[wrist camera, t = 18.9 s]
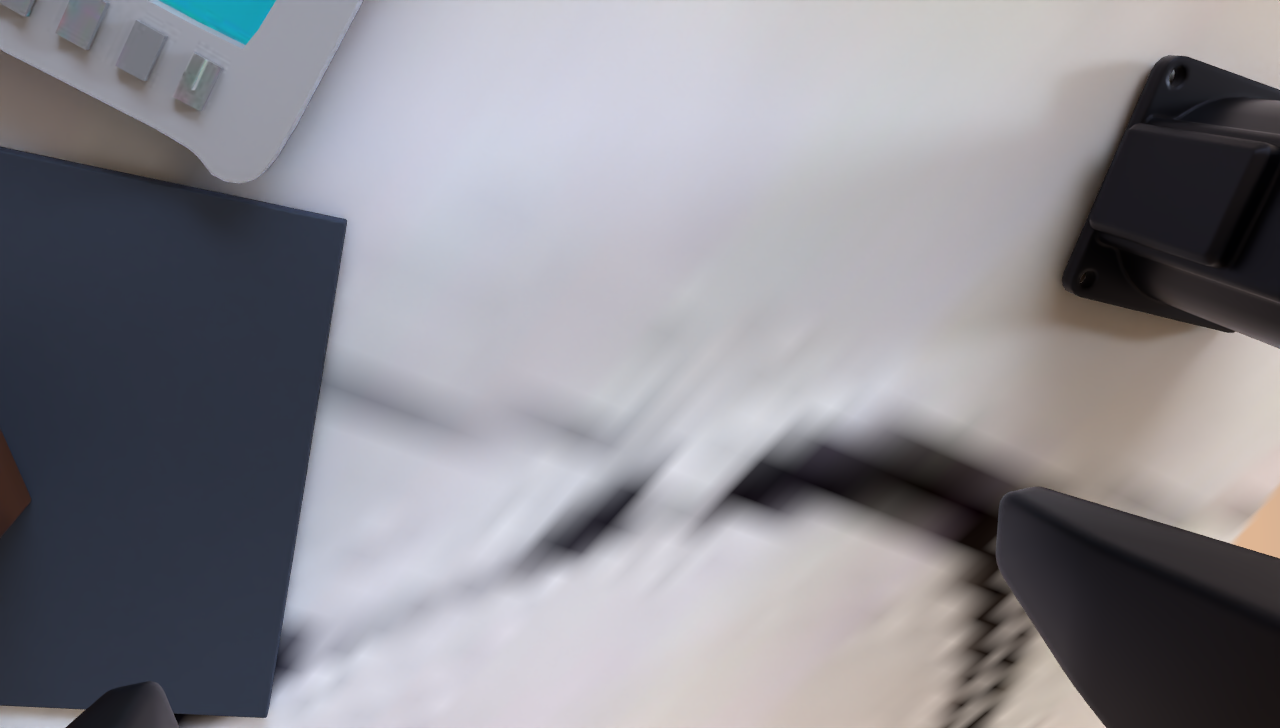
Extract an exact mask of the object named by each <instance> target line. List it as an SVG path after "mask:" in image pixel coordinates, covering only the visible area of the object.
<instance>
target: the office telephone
mask: <svg viewBox="0 0 1280 728" xmlns="http://www.w3.org/2000/svg"><path fill="white" fill-rule="evenodd" d="M362 2H363V0H0V50H2V51H4V52H6V53H8V54H10V55H12V56H14V57H15V58H17V59H19V60H21V61H23V62H25V63H27V64H29V65H31V66H33V67H35V68H37V69H39V70H41V71H43V72H45V73H47V74H49V75H51V76H53V77H55V78H57V79H59V80H60V81H62V82H64V83H66V84H68V85H70V86H72V87H74V88H76V89H78V90H80V91H82V92H84V93H86V94H88V95H90V96H92V97H94V98H96V99H98V100H100V101H102V102H103V103H105V104H107V105H109V106H111V107H113V108H115V109H117V110H119V111H121V112H123V113H125V114H127V115H129V116H131V117H133V118H135V119H137V120H139V121H141V122H143V123H145V124H147V125H148V126H150V127H152V128H154V129H156V130H158V131H160V132H161V133H163V134H165V135H166V136H168V137H170V138H171V139H173V140H175V141H176V142H178V143H180V144H181V145H183V146H185V147H186V148H188V149H189V150H191V151H192V152H193V153H194V154H195V155H196V156H197V157H198V158H199V159H200V160H201V162H202V163H203V164H204V166H205V167H206V168H207V169H208V171H209V172H210V173H211V174H212V175H213V176H215V177H217V178H219V179H221V180H223V181H225V182H231V183H240V184H242V183H245V182H248V181H252V180H255V179H257V178H258V177H259V176H260V175H261V174H263V173H264V172H265V171H266V170H267V169H268V168H269V166H270V165H271V164H272V163H273V162H274V161H275V160H276V159H277V157H278V155H279V154H280V152H281V150H282V149H283V147H284V145H285V144H286V142H287V140H288V139H289V137H290V135H291V134H292V132H293V131H294V129H295V127H296V126H297V124H298V122H299V120H300V118H301V116H302V114H303V113H304V111H305V109H306V107H307V105H308V103H309V101H310V100H311V98H312V96H313V94H314V92H315V90H316V88H317V86H318V85H319V83H320V81H321V79H322V77H323V75H324V73H325V71H326V70H327V68H328V66H329V64H330V62H331V60H332V58H333V57H334V55H335V53H336V51H337V49H338V47H339V45H340V43H341V42H342V40H343V38H344V36H345V34H346V32H347V30H348V28H349V27H350V25H351V23H352V21H353V19H354V17H355V15H356V14H357V12H358V10H359V8H360V6H361V4H362Z"/></svg>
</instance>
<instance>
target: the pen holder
mask: <svg viewBox="0 0 1280 728" xmlns="http://www.w3.org/2000/svg"><path fill="white" fill-rule="evenodd" d="M30 502H31V497H30V494H29V492H28V490H27V488H26V485H25V483H24V481H23V478H22V476H21V474H20V472H19V469H18V467H17V465H16V463H15V460H14V458H13V456H12V454H11V451H10V449H9V447H8V445H7V442H6V440H5V438H4V436H3V433H2V431H1V429H0V538H1V537H2V536H3V534H4V533H5V532H6V531H7V530H8V528H9V527H10V526H11V525H12V524H13V523H14V521H15V520H16V519H17V518H18V517H19V515H20V514H21V513H22V512H23V511H24V509H25V508H26V507H27V506H28V505H29V503H30Z"/></svg>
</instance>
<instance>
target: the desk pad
mask: <svg viewBox="0 0 1280 728" xmlns="http://www.w3.org/2000/svg"><path fill="white" fill-rule="evenodd" d="M346 224H347V220H346V219H342V218H337V217H332V216H328V215H323V214H318V213H313V212H309V211H304V210H299V209H294V208H289V207H285V206H280V205H275V204H270V203H266V202H261V201H256V200H251V199H247V198H242V197H237V196H232V195H227V194H223V193H218V192H213V191H208V190H204V189H199V188H194V187H189V186H185V185H180V184H175V183H170V182H165V181H161V180H156V179H151V178H146V177H142V176H137V175H132V174H127V173H123V172H118V171H113V170H108V169H103V168H99V167H94V166H89V165H84V164H80V163H75V162H70V161H65V160H61V159H56V158H51V157H46V156H41V155H37V154H32V153H27V152H22V151H18V150H13V149H8V148H3V147H0V429H1V431H2V433H3V436H4V438H5V440H6V442H7V445H8V447H9V449H10V451H11V454H12V456H13V458H14V460H15V463H16V465H17V467H18V469H19V472H20V474H21V476H22V478H23V481H24V483H25V485H26V488H27V490H28V492H29V494H30V497H31V502H30V503H29V505H28V506H27V507H26V508H25V509H24V511H23V512H22V513H21V514H20V515H19V517H18V518H17V519H16V520H15V521H14V523H13V524H12V525H11V526H10V527H9V528H8V530H7V531H6V532H5V533H4V534H3V536H2V537H1V538H0V705H3V706H24V707H45V708H67V709H87V708H89V707H90V706H91V705H92V704H93V703H94V702H95V701H97V700H98V699H99V698H100V697H101V696H102V695H104V694H105V693H106V692H107V691H109V690H112V689H115V688H118V687H123V686H127V685H132V684H137V683H141V682H146V681H153V682H156V683H158V684H159V685H160V686H161V687H162V689H163V690H164V692H165V694H166V697H167V699H168V702H169V704H170V707H171V709H172V711H173V714H194V715H215V716H236V717H257V718H266V717H267V714H268V710H269V704H270V698H271V692H272V686H273V679H274V673H275V667H276V661H277V655H278V648H279V642H280V636H281V630H282V623H283V617H284V611H285V605H286V598H287V592H288V586H289V580H290V573H291V567H292V561H293V555H294V549H295V542H296V536H297V530H298V524H299V517H300V511H301V505H302V499H303V492H304V486H305V480H306V474H307V468H308V461H309V455H310V449H311V443H312V436H313V430H314V424H315V418H316V411H317V405H318V399H319V393H320V386H321V380H322V374H323V368H324V362H325V355H326V349H327V343H328V337H329V330H330V324H331V318H332V312H333V305H334V299H335V293H336V287H337V281H338V274H339V268H340V262H341V256H342V249H343V243H344V237H345V231H346Z"/></svg>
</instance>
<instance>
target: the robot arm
mask: <svg viewBox="0 0 1280 728" xmlns="http://www.w3.org/2000/svg"><path fill="white" fill-rule="evenodd" d="M1173 69H1174V71H1175V75H1174V79H1173V80H1172V82H1171V83H1170V81H1169V78H1170V74H1171V72H1172V71H1173ZM1085 272H1086V277H1085V279H1084V280H1083V282H1081V283H1079V282H1080V278H1081V276H1082V275H1083V274H1084V273H1085ZM1062 283H1063V286H1064V288H1065V290H1067V291H1068V292H1070V293H1073V294H1075V295H1077V296H1079V297H1083V298H1087V299H1091V300H1095V301H1099V302H1104V303H1108V304H1112V305H1116V306H1120V307H1124V308H1128V309H1132V310H1137V311H1141V312H1145V313H1149V314H1153V315H1157V316H1161V317H1165V318H1170V319H1174V320H1178V321H1182V322H1186V323H1190V324H1194V325H1199V326H1203V327H1207V328H1211V329H1215V330H1219V331H1223V332H1227V333H1233V332H1239V333H1241V334H1244V335H1246V336H1249V337H1251V338H1254V339H1257V340H1259V341H1262V342H1264V343H1267V344H1269V345H1272V346H1274V347H1277V348H1279V349H1280V90H1278V89H1276V88H1273V87H1270V86H1267V85H1265V84H1262V83H1259V82H1256V81H1253V80H1251V79H1248V78H1245V77H1242V76H1240V75H1237V74H1234V73H1231V72H1228V71H1226V70H1223V69H1220V68H1217V67H1215V66H1212V65H1209V64H1206V63H1204V62H1201V61H1198V60H1195V59H1192V58H1190V57H1186V56H1171V55H1168V56H1166V57H1163V58H1161V59H1160V60H1159V61H1158V62H1157V63H1156V64H1155V65H1154V67H1153V69H1152V70H1151V72H1150V75H1149V77H1148V79H1147V82H1146V84H1145V86H1144V89H1143V91H1142V93H1141V95H1140V98H1139V100H1138V102H1137V105H1136V107H1135V109H1134V112H1133V114H1132V116H1131V119H1130V121H1129V123H1128V125H1127V128H1126V130H1125V132H1124V135H1123V137H1122V139H1121V142H1120V144H1119V146H1118V148H1117V151H1116V153H1115V155H1114V158H1113V160H1112V162H1111V165H1110V167H1109V169H1108V172H1107V174H1106V176H1105V178H1104V181H1103V183H1102V185H1101V188H1100V190H1099V192H1098V195H1097V197H1096V199H1095V201H1094V204H1093V206H1092V208H1091V211H1090V213H1089V215H1088V218H1087V220H1086V222H1085V225H1084V227H1083V229H1082V231H1081V234H1080V236H1079V238H1078V241H1077V243H1076V245H1075V248H1074V250H1073V252H1072V255H1071V257H1070V259H1069V261H1068V264H1067V266H1066V268H1065V271H1064V273H1063V277H1062ZM996 560H997V564H998V568H999V570H1000V572H1001V574H1002V576H1003V578H1004V580H1005V581H1006V583H1007V584H1008V586H1009V587H1010V589H1011V590H1012V592H1013V593H1014V595H1015V597H1016V598H1017V600H1018V601H1019V603H1020V604H1021V606H1022V607H1023V609H1024V610H1025V612H1026V614H1027V615H1028V617H1029V618H1030V620H1031V621H1032V623H1033V624H1034V626H1035V627H1036V629H1037V631H1038V632H1039V634H1040V635H1041V637H1042V638H1043V640H1044V641H1045V643H1046V644H1047V646H1048V648H1049V649H1050V651H1051V652H1052V654H1053V655H1054V657H1055V658H1056V660H1057V662H1058V663H1059V665H1060V666H1061V668H1062V669H1063V671H1064V672H1065V674H1066V675H1067V676H1068V678H1069V679H1070V681H1071V682H1072V684H1073V685H1074V687H1075V688H1076V689H1077V691H1078V692H1079V693H1080V695H1081V696H1082V697H1083V698H1084V700H1085V701H1086V702H1087V704H1088V705H1089V706H1090V708H1091V709H1092V710H1093V711H1094V713H1095V714H1096V715H1097V716H1098V718H1099V719H1100V720H1101V721H1102V723H1103V724H1104V725H1105V727H1106V728H1280V559H1279V558H1276V557H1273V556H1269V555H1266V554H1262V553H1259V552H1256V551H1253V550H1250V549H1246V548H1243V547H1239V546H1236V545H1233V544H1230V543H1226V542H1223V541H1220V540H1216V539H1213V538H1210V537H1206V536H1203V535H1200V534H1196V533H1193V532H1190V531H1186V530H1183V529H1180V528H1176V527H1173V526H1170V525H1166V524H1163V523H1160V522H1156V521H1153V520H1150V519H1147V518H1143V517H1140V516H1137V515H1133V514H1130V513H1127V512H1123V511H1120V510H1117V509H1113V508H1110V507H1107V506H1103V505H1100V504H1097V503H1093V502H1090V501H1087V500H1083V499H1080V498H1077V497H1073V496H1070V495H1067V494H1063V493H1060V492H1057V491H1054V490H1050V489H1047V488H1043V487H1030V488H1026V489H1021V490H1017V491H1012V492H1008V493H1006V494H1005V495H1004V496H1003V497H1002V499H1001V501H1000V505H999V515H998V528H997V542H996ZM66 728H179V726H178V723H177V721H176V719H175V716H174V714H173V711H172V709H171V707H170V704H169V702H168V699H167V697H166V694H165V692H164V690H163V689H162V687H161V686H160V685H159V684H158V683H156V682H153V681H146V682H141V683H137V684H132V685H127V686H123V687H118V688H115V689H112V690H109V691H107V692H106V693H105V694H104V695H102V696H101V697H100V698H99V699H98V700H97V701H95V702H94V703H93V704H92V705H91V706H90V707H89V708H87V709H86V710H85V711H84V712H83V713H82V714H81V715H79V716H78V717H77V718H76V719H75V720H74V721H73V722H71V723H70V724H69V725H68V726H67V727H66Z"/></svg>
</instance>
